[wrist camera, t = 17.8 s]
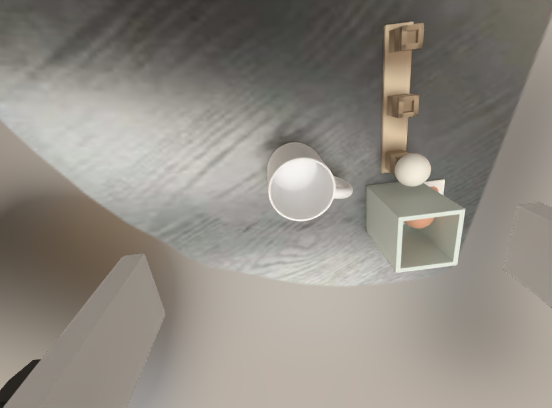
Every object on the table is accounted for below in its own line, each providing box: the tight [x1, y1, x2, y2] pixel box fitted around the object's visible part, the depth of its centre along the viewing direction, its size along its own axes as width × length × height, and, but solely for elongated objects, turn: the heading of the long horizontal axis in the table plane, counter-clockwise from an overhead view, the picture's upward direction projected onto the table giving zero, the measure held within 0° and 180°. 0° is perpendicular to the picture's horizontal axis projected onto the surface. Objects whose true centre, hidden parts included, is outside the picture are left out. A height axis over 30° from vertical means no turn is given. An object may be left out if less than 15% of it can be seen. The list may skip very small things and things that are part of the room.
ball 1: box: [395, 154, 431, 187], centre depth 39 cm, size 4×4×4 cm
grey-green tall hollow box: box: [366, 181, 465, 273], centre depth 43 cm, size 8×8×12 cm
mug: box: [267, 142, 353, 221], centre depth 41 cm, size 12×8×10 cm
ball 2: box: [404, 218, 434, 229], centre depth 42 cm, size 4×4×4 cm
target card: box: [424, 179, 445, 195], centre depth 48 cm, size 7×4×1 cm, turn 7°
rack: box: [381, 22, 424, 175], centre depth 40 cm, size 20×4×4 cm, turn 7°
